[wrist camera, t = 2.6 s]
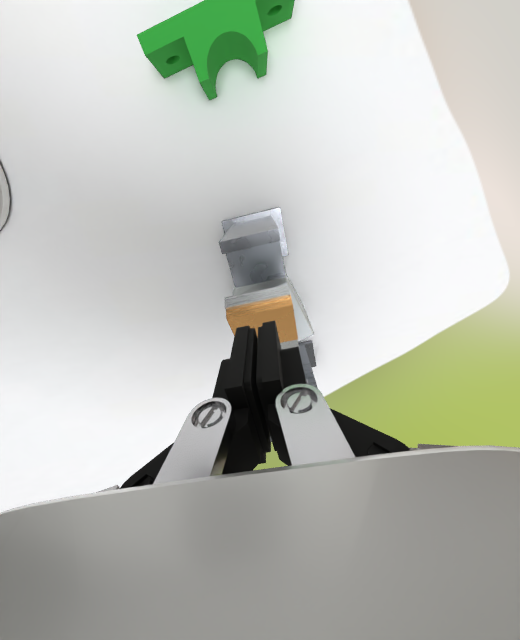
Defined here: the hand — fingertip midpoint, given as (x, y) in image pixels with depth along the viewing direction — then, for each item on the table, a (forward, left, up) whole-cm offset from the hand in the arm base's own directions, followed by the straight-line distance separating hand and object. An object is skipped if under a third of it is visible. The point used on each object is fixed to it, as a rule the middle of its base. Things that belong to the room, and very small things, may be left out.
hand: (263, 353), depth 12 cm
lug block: (-2, 0, -20) cm, 20 cm away
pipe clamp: (-16, +1, -20) cm, 26 cm away
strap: (+5, 0, -8) cm, 9 cm away
